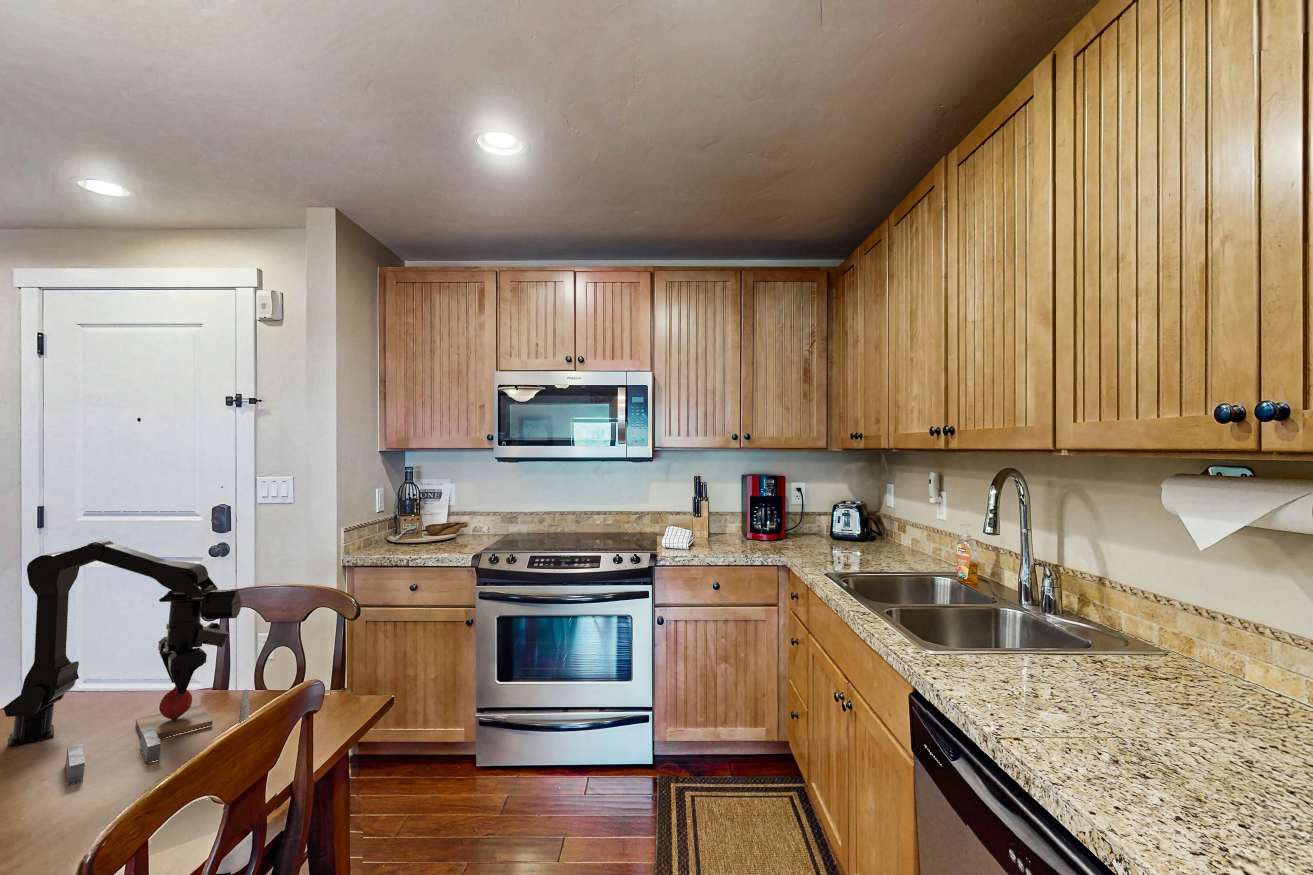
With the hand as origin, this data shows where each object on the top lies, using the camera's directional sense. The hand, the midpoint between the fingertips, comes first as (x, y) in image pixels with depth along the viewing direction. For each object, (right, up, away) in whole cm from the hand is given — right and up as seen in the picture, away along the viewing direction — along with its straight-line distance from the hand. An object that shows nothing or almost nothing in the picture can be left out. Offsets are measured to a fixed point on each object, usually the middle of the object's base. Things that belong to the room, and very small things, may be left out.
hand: (178, 687), depth 130 cm
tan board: (-1, -9, -1) cm, 9 cm away
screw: (+22, -9, -10) cm, 26 cm away
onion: (-1, -7, -1) cm, 7 cm away
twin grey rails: (+1, -8, -17) cm, 19 cm away
